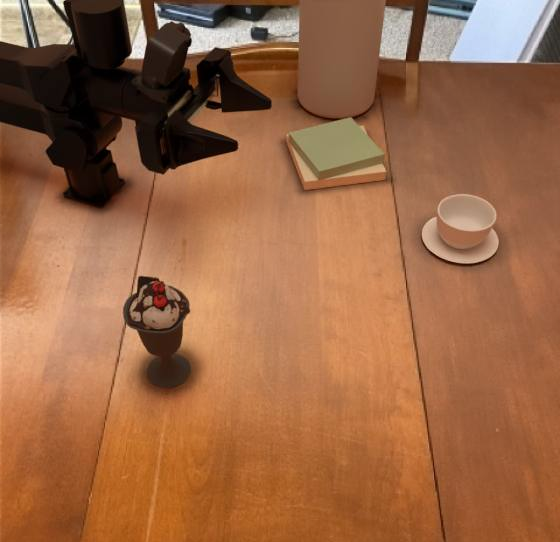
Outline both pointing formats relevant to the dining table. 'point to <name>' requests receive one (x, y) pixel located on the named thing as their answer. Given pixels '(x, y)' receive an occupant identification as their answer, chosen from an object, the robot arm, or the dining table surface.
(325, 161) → the block stack
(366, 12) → the cylinder vase
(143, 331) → the sundae
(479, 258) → the teacup
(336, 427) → the dining table surface
